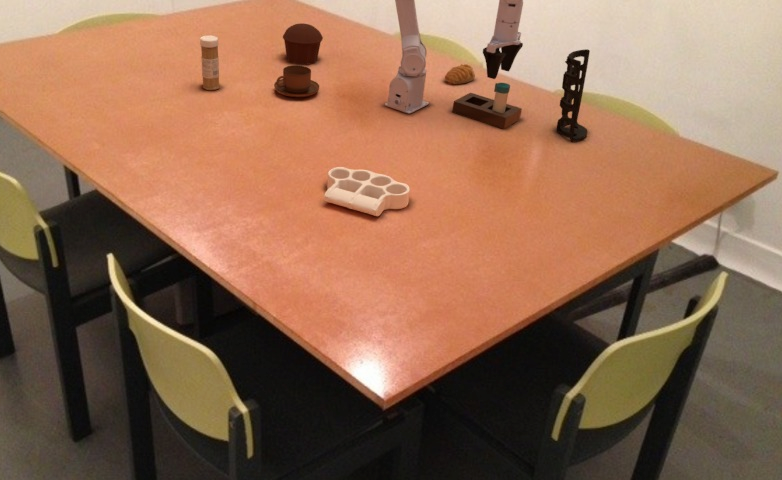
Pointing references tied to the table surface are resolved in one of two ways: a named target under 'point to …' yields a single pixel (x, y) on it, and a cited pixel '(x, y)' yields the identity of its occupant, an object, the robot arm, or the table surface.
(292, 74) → the cup and saucer
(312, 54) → the muffin
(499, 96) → the marker
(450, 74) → the pastry
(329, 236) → the table surface
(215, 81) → the sprinkles bottle
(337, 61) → the table surface
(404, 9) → the robot arm
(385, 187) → the knuckle duster
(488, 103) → the block
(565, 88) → the holder
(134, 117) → the table surface
